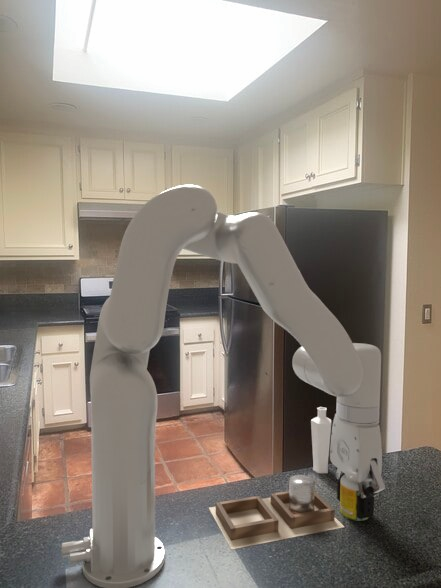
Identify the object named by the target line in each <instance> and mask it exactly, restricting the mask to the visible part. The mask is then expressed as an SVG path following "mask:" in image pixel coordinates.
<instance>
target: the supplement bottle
mask: <svg viewBox="0 0 441 588" xmlns="http://www.w3.org/2000/svg"><path fill="white" fill-rule="evenodd" d="M364 486H365V489H366V488H367V487H369V483H368V482H364ZM359 495H360V494H359V488H358V482H355V481H354V480H352V479H351V478H350V477H348V476H347V475H346V474H344V475H343V476H342V477H341V481H340V501H339V512H340V515H342V517H344V518H345V519H349V520H351V521H355V522H357V521H358V522H361V521H362V522H363V521H366V520H368V519H369V518H370V517H367V518H362V519H359V518H358V517H357V516H356V512H357V496H359Z"/></svg>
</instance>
